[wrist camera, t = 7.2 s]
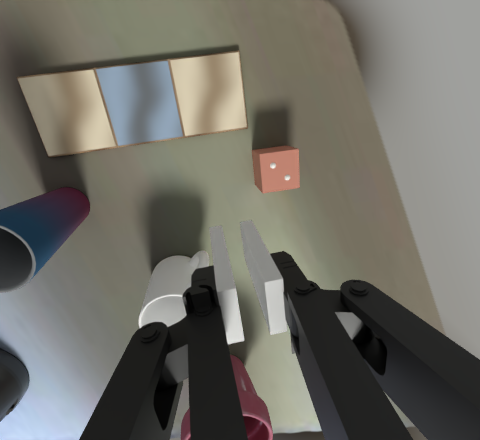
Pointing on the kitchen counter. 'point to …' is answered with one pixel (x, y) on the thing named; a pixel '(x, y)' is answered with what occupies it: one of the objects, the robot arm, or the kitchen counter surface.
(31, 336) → the kitchen counter surface
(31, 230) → the cup
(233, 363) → the plant pot
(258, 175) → the die
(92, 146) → the multicoloured flat piece
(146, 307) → the mug
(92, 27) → the kitchen counter surface
